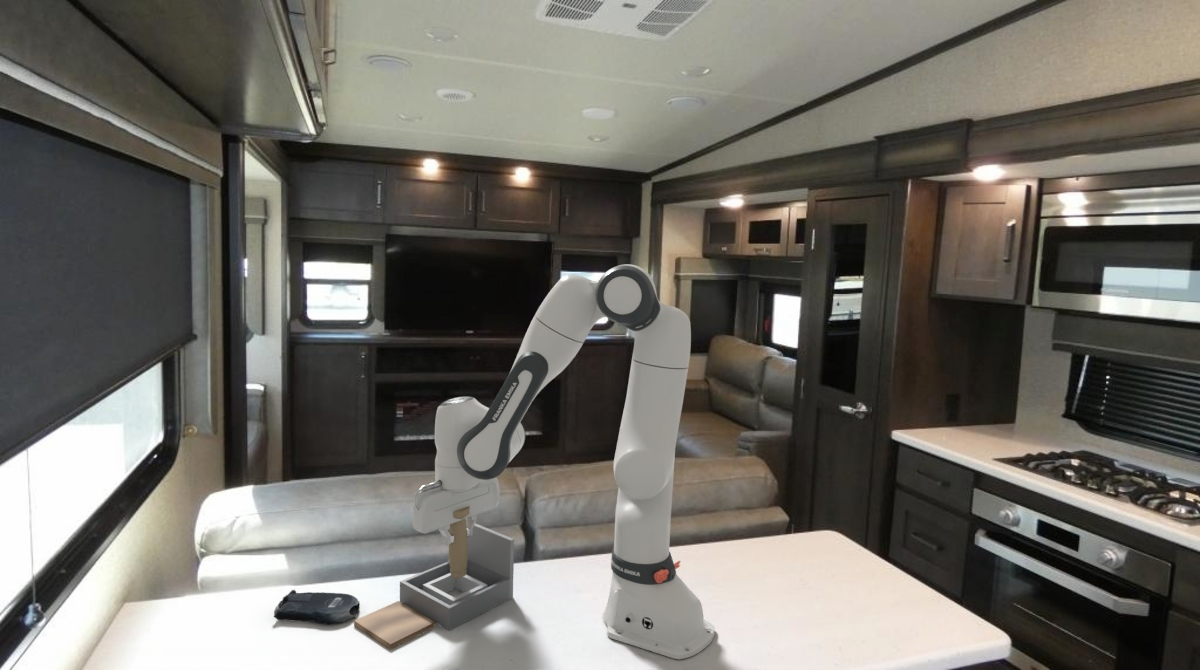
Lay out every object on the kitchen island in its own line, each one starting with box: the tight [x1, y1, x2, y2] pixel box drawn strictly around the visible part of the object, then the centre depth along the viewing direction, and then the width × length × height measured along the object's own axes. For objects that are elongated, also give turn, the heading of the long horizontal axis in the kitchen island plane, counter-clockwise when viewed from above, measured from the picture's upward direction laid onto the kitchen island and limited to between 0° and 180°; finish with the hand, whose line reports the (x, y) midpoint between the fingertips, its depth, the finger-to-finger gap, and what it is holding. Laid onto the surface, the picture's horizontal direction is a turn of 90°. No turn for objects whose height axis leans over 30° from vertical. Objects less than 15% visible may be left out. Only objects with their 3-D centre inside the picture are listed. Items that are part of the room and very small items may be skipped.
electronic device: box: [273, 589, 361, 625], centre depth 132 cm, size 9×6×15 cm
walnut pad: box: [353, 600, 436, 650], centre depth 128 cm, size 12×10×1 cm
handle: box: [448, 506, 470, 578], centre depth 137 cm, size 5×6×15 cm
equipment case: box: [399, 519, 515, 631], centre depth 138 cm, size 16×17×13 cm
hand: (457, 539), depth 137 cm, fingers closed on handle, 3 cm apart
